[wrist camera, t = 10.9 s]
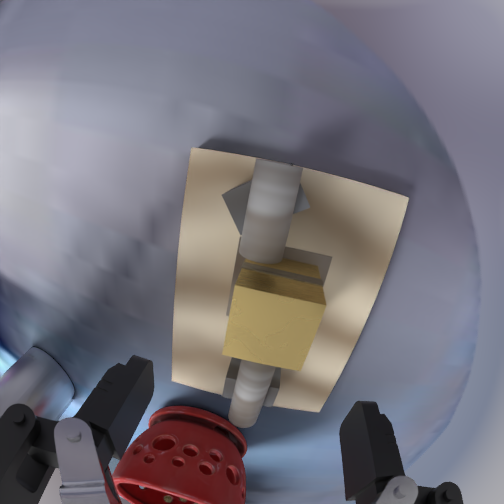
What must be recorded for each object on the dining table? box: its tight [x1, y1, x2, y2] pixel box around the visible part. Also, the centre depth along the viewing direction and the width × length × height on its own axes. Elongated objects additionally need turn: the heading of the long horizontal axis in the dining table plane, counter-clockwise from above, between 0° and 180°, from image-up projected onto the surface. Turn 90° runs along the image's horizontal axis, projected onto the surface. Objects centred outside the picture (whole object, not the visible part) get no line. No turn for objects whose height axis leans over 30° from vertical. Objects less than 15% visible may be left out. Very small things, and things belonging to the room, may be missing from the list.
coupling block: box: [222, 258, 327, 371], centre depth 16 cm, size 5×5×5 cm
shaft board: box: [172, 148, 409, 428], centre depth 18 cm, size 20×14×5 cm
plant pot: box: [112, 406, 247, 504], centre depth 22 cm, size 13×13×12 cm
